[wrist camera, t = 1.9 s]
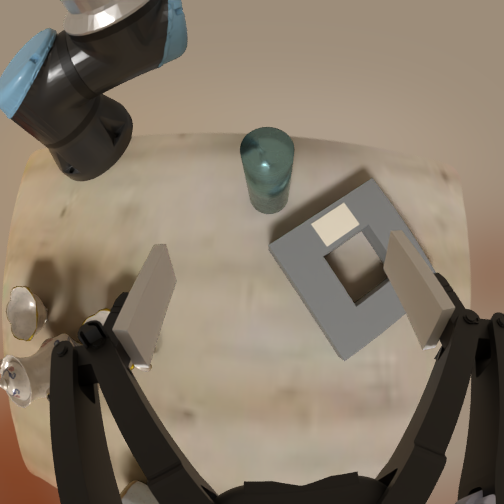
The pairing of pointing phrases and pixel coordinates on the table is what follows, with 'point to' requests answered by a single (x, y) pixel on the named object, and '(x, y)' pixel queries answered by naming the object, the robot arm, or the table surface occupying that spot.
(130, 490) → the ceramic mug
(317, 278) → the socket block
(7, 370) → the chinaware
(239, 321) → the table surface
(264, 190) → the teal cylinder
